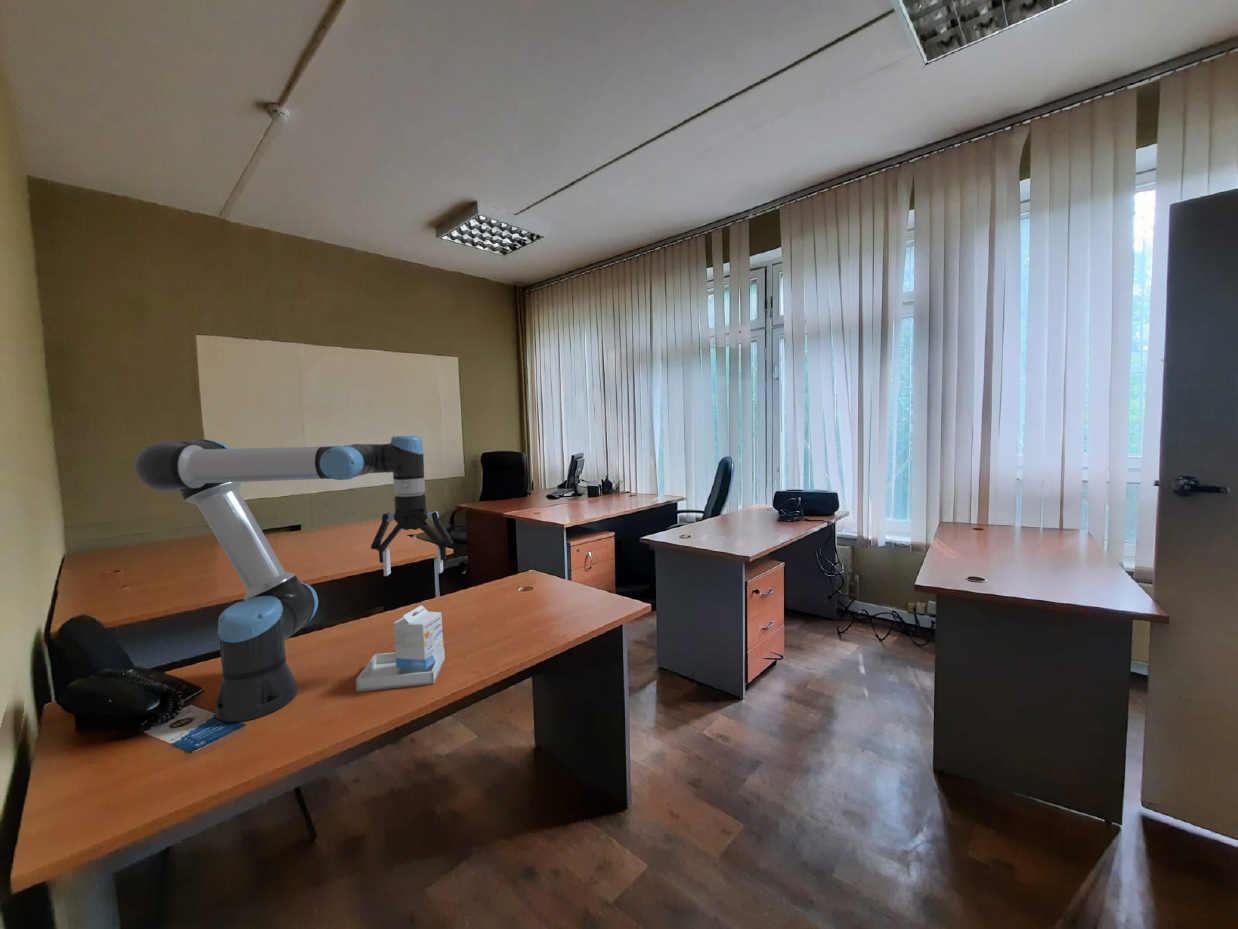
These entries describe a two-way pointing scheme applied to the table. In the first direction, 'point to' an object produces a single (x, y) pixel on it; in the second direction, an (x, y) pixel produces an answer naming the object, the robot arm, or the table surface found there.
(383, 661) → the caddy
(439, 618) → the ink box
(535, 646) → the table surface
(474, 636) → the table surface
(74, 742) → the table surface
